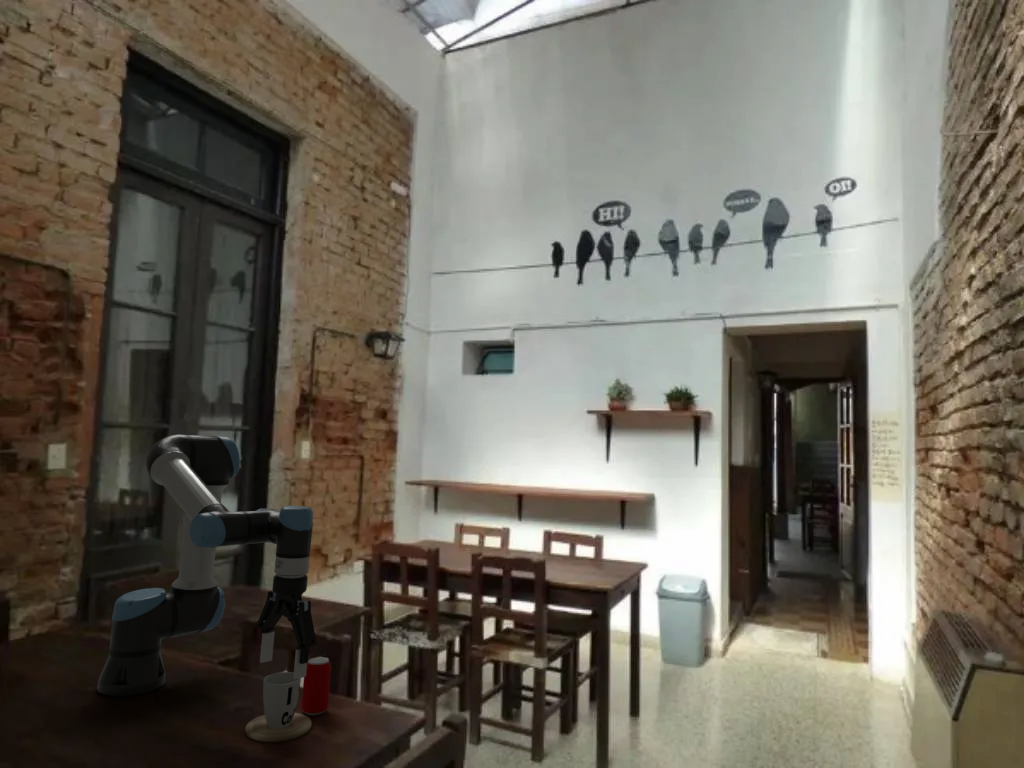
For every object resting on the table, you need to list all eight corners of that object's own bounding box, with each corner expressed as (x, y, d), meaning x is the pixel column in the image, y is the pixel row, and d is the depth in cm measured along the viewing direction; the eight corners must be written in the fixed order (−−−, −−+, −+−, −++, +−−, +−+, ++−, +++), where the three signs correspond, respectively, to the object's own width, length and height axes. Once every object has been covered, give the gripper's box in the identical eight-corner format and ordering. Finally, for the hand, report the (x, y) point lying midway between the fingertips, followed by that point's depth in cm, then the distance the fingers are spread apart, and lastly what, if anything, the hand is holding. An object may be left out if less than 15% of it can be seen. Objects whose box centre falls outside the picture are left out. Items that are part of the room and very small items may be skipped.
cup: (285, 733, 143) (289, 686, 144) (252, 728, 145) (256, 682, 146) (304, 719, 151) (307, 674, 152) (272, 714, 153) (276, 670, 154)
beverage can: (313, 705, 162) (317, 654, 163) (333, 710, 159) (336, 659, 160) (295, 713, 156) (299, 661, 158) (315, 719, 154) (319, 666, 155)
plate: (233, 728, 147) (233, 724, 147) (288, 710, 158) (288, 706, 158) (267, 748, 138) (268, 743, 138) (323, 728, 149) (323, 724, 149)
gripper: (247, 566, 156) (238, 658, 155) (308, 587, 141) (299, 689, 139) (275, 563, 162) (267, 651, 160) (337, 582, 147) (329, 680, 145)
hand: (282, 669), depth 150 cm, fingers open, 13 cm apart
